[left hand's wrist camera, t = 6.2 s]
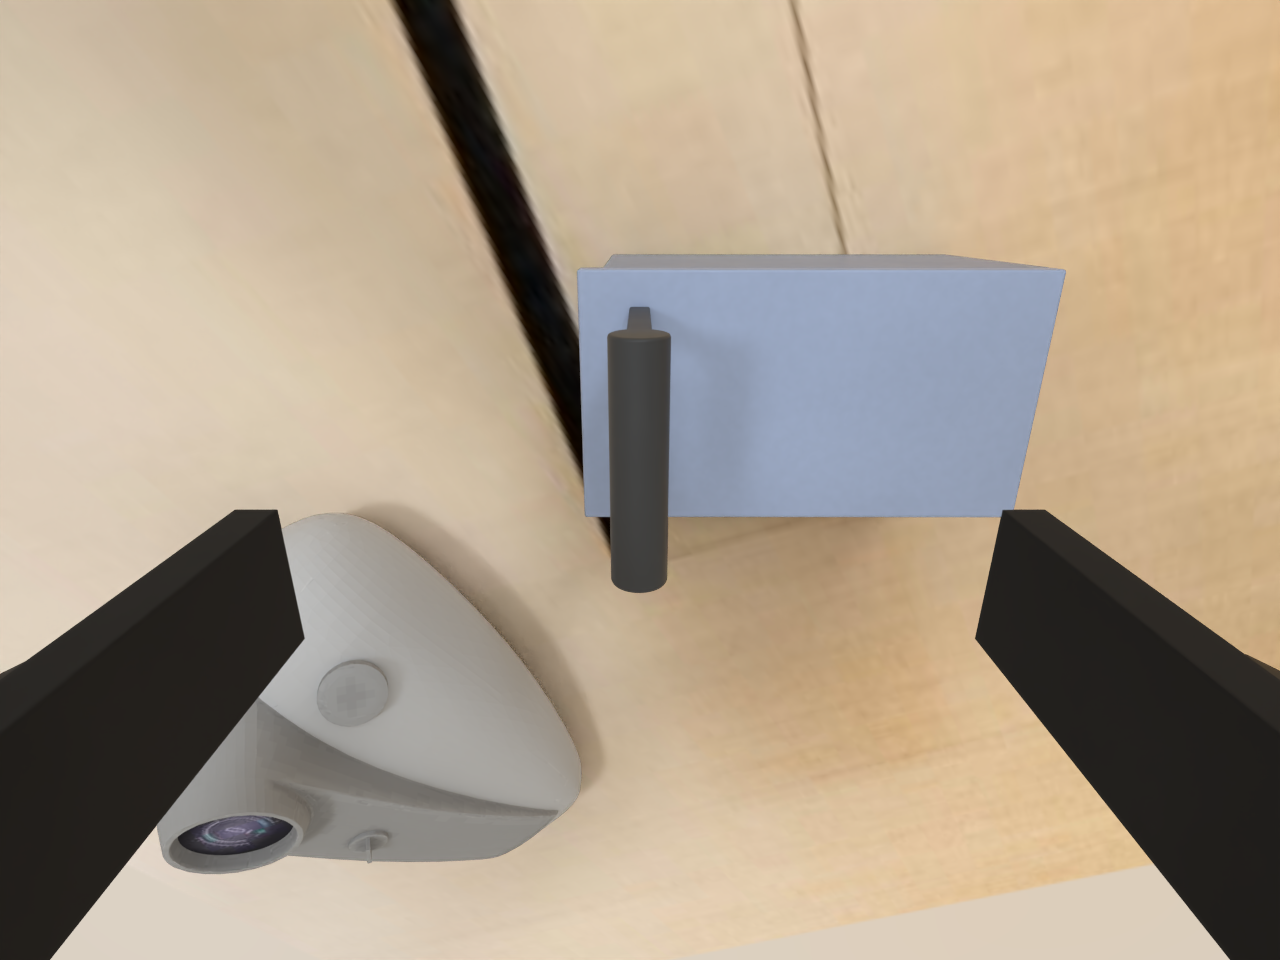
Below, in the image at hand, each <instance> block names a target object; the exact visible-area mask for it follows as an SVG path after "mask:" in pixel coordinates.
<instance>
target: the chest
mask: <svg viewBox="0 0 1280 960" xmlns="http://www.w3.org/2000/svg"><path fill="white" fill-rule="evenodd" d="M603 268H1048V267H1040V266H1032V265H1024V264H1016V263H1008V262H1000V261H992V260H984V259H976V258H968V257H960V256H951V255H612V256H611V258H610V259H609V261H608V262H607V263H606V265H605V266H604V267H603Z"/></svg>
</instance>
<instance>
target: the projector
mask: <svg viewBox="0 0 1280 960" xmlns="http://www.w3.org/2000/svg"><path fill="white" fill-rule="evenodd" d="M282 534H283V538H284V543H285V548H286V552H287V557H288V562H289V567H290V571H291V576H292V581H293V585H294V590H295V595H296V599H297V604H298V609H299V613H300V618H301V623H302V628H303V632H304V637H305V639H304V640H303V642H302V643H301V644H300V645H299V647H298V648H297V649H296V651H295V652H294V653H293V654H292V656H291V657H290V658H289V659H288V661H287V662H286V663H285V664H284V666H283V667H282V668H281V669H280V671H279V672H278V673H277V674H276V676H275V677H274V678H273V679H272V681H271V682H270V683H269V685H268V686H267V687H266V688H265V690H264V691H263V692H262V693H261V695H260V696H259V697H258V698H257V700H256V701H255V702H254V703H253V705H252V706H251V707H250V708H249V710H248V711H247V712H246V713H245V715H244V716H243V717H242V719H241V720H240V721H239V722H238V724H237V725H236V726H235V727H234V729H233V730H232V731H231V732H230V734H229V735H228V736H227V737H226V739H225V740H224V741H223V742H222V744H221V745H220V746H219V747H218V749H217V750H216V751H215V753H214V754H213V755H212V756H211V758H210V759H209V760H208V761H207V763H206V764H205V765H204V766H203V768H202V769H201V770H200V771H199V773H198V774H197V775H196V776H195V778H194V779H193V780H192V781H191V783H190V784H189V785H188V787H187V788H186V789H185V790H184V792H183V793H182V794H181V795H180V797H179V798H178V799H177V800H176V802H175V803H174V804H173V805H172V807H171V808H170V809H169V810H168V812H167V813H166V814H165V815H164V817H163V818H162V819H161V821H160V822H159V823H158V824H157V830H158V835H159V840H160V845H161V850H162V855H163V857H164V859H165V861H166V862H167V863H168V864H170V865H171V866H173V867H175V868H178V869H181V870H184V871H187V872H193V873H201V874H226V873H236V872H241V871H246V870H251V869H256V868H259V867H262V866H265V865H268V864H271V863H273V862H275V861H277V860H280V859H282V858H284V857H286V856H287V855H289V856H302V857H314V858H327V859H343V860H361V861H367V862H368V863H371V862H372V861H391V862H439V861H461V860H479V859H488V858H494V857H498V856H500V855H503V854H505V853H507V852H509V851H511V850H513V849H515V848H516V847H518V846H520V845H522V844H523V843H524V842H526V841H527V840H529V839H530V838H532V837H533V836H534V835H536V834H537V833H538V832H539V831H541V830H542V829H543V828H545V827H546V826H547V825H549V824H550V823H551V822H553V821H554V820H556V819H557V818H558V817H559V816H561V815H562V814H563V813H564V812H565V811H566V810H567V809H568V808H569V807H570V806H571V805H572V804H573V803H574V801H575V800H576V799H577V797H578V794H579V792H580V786H581V776H582V771H581V762H580V758H579V755H578V752H577V749H576V747H575V745H574V742H573V740H572V738H571V736H570V734H569V732H568V731H567V729H566V727H565V725H564V723H563V722H562V720H561V718H560V717H559V715H558V713H557V711H556V710H555V708H554V706H553V705H552V703H551V702H550V700H549V699H548V697H547V696H546V694H545V693H544V691H543V690H542V688H541V687H540V685H539V684H538V682H537V681H536V679H535V678H534V677H533V675H532V674H531V673H530V671H529V670H528V669H527V667H526V666H525V665H524V663H523V662H522V661H521V659H520V658H519V657H518V656H517V654H516V653H515V652H514V651H513V649H512V648H511V647H510V646H509V645H508V643H507V642H506V641H505V640H504V639H503V638H502V637H501V635H500V634H499V633H498V632H497V631H496V630H495V629H494V627H493V626H492V625H491V624H490V623H489V622H488V621H487V620H486V619H485V618H484V617H483V616H482V615H481V613H480V612H479V611H478V610H477V609H476V608H475V607H474V606H473V605H472V604H471V603H470V602H469V601H468V600H467V599H466V598H465V597H464V596H463V595H462V594H461V593H460V592H459V591H458V590H457V589H456V588H455V587H454V586H453V585H452V584H451V583H450V582H449V581H447V580H446V579H445V578H444V577H443V576H442V575H441V574H440V573H439V572H438V571H437V570H435V569H434V568H433V567H432V566H431V565H430V564H429V563H428V562H427V561H425V560H424V559H423V558H422V557H421V556H419V555H418V554H417V553H416V552H415V551H413V550H412V549H411V548H410V547H409V546H407V545H406V544H405V543H403V542H402V541H401V540H399V539H398V538H396V537H395V536H394V535H392V534H391V533H389V532H388V531H386V530H385V529H383V528H381V527H380V526H378V525H376V524H375V523H372V522H370V521H368V520H366V519H363V518H361V517H358V516H355V515H350V514H344V513H326V514H319V515H313V516H310V517H306V518H303V519H301V520H299V521H297V522H294V523H292V524H290V525H288V526H286V527H284V528H283V529H282Z"/></svg>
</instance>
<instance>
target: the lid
mask: <svg viewBox="0 0 1280 960" xmlns="http://www.w3.org/2000/svg"><path fill="white" fill-rule="evenodd" d="M1065 274H1066V271H1065V270H1063V269H1055V268H580V269H578V271H577V286H578V317H579V348H580V379H581V410H582V441H583V472H584V503H585V516H586V517H610V531H611V579H612V582H613V583H614V585H615V586H616V587H618V588H619V589H621V590H624V591H628V592H633V593H645V592H651V591H654V590H657V589H659V588H661V587H662V586H663V585H664V584H665V582H666V580H667V553H668V517H1001V515H1002V510H1014V506H1015V501H1016V497H1017V492H1018V488H1019V483H1020V479H1021V474H1022V469H1023V465H1024V460H1025V456H1026V451H1027V447H1028V442H1029V438H1030V433H1031V429H1032V424H1033V419H1034V415H1035V410H1036V406H1037V401H1038V397H1039V392H1040V388H1041V383H1042V378H1043V374H1044V369H1045V365H1046V360H1047V356H1048V351H1049V347H1050V342H1051V338H1052V333H1053V328H1054V324H1055V319H1056V315H1057V310H1058V306H1059V301H1060V297H1061V292H1062V288H1063V283H1064V278H1065Z"/></svg>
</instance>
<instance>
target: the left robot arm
mask: <svg viewBox="0 0 1280 960" xmlns="http://www.w3.org/2000/svg"><path fill="white" fill-rule="evenodd" d="M304 639H305V637H304V632H303V628H302V623H301V618H300V613H299V609H298V604H297V599H296V595H295V590H294V585H293V581H292V576H291V571H290V567H289V562H288V557H287V552H286V548H285V543H284V538H283V534H282V529H281V524H280V520H279V515H278V510H234V511H233V512H231V513H230V514H229V515H227V516H226V517H224V518H223V519H222V520H220V521H219V522H218V523H216V524H215V525H213V526H212V527H211V528H209V529H208V530H206V531H205V532H204V533H202V534H201V535H200V536H198V537H197V538H195V539H194V540H193V541H191V542H190V543H189V544H187V545H186V546H184V547H183V548H182V549H180V550H179V551H177V552H176V553H175V554H173V555H172V556H171V557H169V558H168V559H166V560H165V561H164V562H162V563H161V564H159V565H158V566H157V567H155V568H154V569H153V570H151V571H150V572H148V573H147V574H146V575H144V576H143V577H142V578H140V579H139V580H137V581H136V582H135V583H133V584H132V585H130V586H129V587H128V588H126V589H125V590H124V591H122V592H121V593H119V594H118V595H117V596H115V597H114V598H113V599H111V600H110V601H108V602H107V603H106V604H104V605H103V606H101V607H100V608H99V609H97V610H96V611H95V612H93V613H92V614H90V615H89V616H88V617H86V618H85V619H84V620H82V621H81V622H79V623H78V624H77V625H75V626H74V627H72V628H71V629H70V630H68V631H67V632H66V633H64V634H63V635H61V636H60V637H59V638H57V639H56V640H55V641H53V642H52V643H50V644H49V645H48V646H46V647H45V648H43V649H42V650H41V651H39V652H38V653H37V654H35V655H34V656H32V657H31V658H30V659H28V660H27V661H25V662H23V663H21V664H19V665H17V666H15V667H13V668H11V669H9V670H7V671H5V672H3V673H1V674H0V960H50V959H51V958H52V956H53V955H54V954H55V953H56V951H57V950H58V949H59V948H60V946H61V945H62V944H63V943H64V941H65V940H66V939H67V938H68V936H69V935H70V934H71V933H72V931H73V930H74V929H75V927H76V926H77V925H78V924H79V922H80V921H81V920H82V919H83V917H84V916H85V915H86V914H87V912H88V911H89V910H90V909H91V907H92V906H93V905H94V904H95V902H96V901H97V900H98V899H99V897H100V896H101V895H102V894H103V892H104V891H105V890H106V889H107V887H108V886H109V885H110V883H111V882H112V881H113V880H114V878H115V877H116V876H117V875H118V873H119V872H120V871H121V870H122V868H123V867H124V866H125V865H126V863H127V862H128V861H129V860H130V858H131V857H132V856H133V855H134V853H135V852H136V851H137V849H138V848H139V847H140V846H141V844H142V843H143V842H144V841H145V839H146V838H147V837H148V836H149V834H150V833H151V832H152V831H153V829H154V828H155V827H156V826H157V824H158V823H159V822H160V821H161V819H162V818H163V817H164V815H165V814H166V813H167V812H168V810H169V809H170V808H171V807H172V805H173V804H174V803H175V802H176V800H177V799H178V798H179V797H180V795H181V794H182V793H183V792H184V790H185V789H186V788H187V787H188V785H189V784H190V783H191V781H192V780H193V779H194V778H195V776H196V775H197V774H198V773H199V771H200V770H201V769H202V768H203V766H204V765H205V764H206V763H207V761H208V760H209V759H210V758H211V756H212V755H213V754H214V753H215V751H216V750H217V749H218V747H219V746H220V745H221V744H222V742H223V741H224V740H225V739H226V737H227V736H228V735H229V734H230V732H231V731H232V730H233V729H234V727H235V726H236V725H237V724H238V722H239V721H240V720H241V719H242V717H243V716H244V715H245V713H246V712H247V711H248V710H249V708H250V707H251V706H252V705H253V703H254V702H255V701H256V700H257V698H258V697H259V696H260V695H261V693H262V692H263V691H264V690H265V688H266V687H267V686H268V685H269V683H270V682H271V681H272V679H273V678H274V677H275V676H276V674H277V673H278V672H279V671H280V669H281V668H282V667H283V666H284V664H285V663H286V662H287V661H288V659H289V658H290V657H291V656H292V654H293V653H294V652H295V651H296V649H297V648H298V647H299V645H300V644H301V643H302V642H303V640H304ZM975 639H976V640H977V642H978V643H979V644H980V645H981V647H982V648H983V649H984V651H985V652H986V653H987V654H988V656H989V657H990V658H991V659H992V661H993V662H994V663H995V664H996V666H997V667H998V668H999V669H1000V671H1001V672H1002V673H1003V674H1004V676H1005V677H1006V678H1007V679H1008V681H1009V682H1010V683H1011V685H1012V686H1013V687H1014V688H1015V690H1016V691H1017V692H1018V693H1019V695H1020V696H1021V697H1022V698H1023V700H1024V701H1025V702H1026V703H1027V705H1028V706H1029V707H1030V708H1031V710H1032V711H1033V712H1034V713H1035V715H1036V716H1037V717H1038V719H1039V720H1040V721H1041V722H1042V724H1043V725H1044V726H1045V727H1046V729H1047V730H1048V731H1049V732H1050V734H1051V735H1052V736H1053V737H1054V739H1055V740H1056V741H1057V742H1058V744H1059V745H1060V746H1061V747H1062V749H1063V750H1064V751H1065V753H1066V754H1067V755H1068V756H1069V758H1070V759H1071V760H1072V761H1073V763H1074V764H1075V765H1076V766H1077V768H1078V769H1079V770H1080V771H1081V773H1082V774H1083V775H1084V776H1085V778H1086V779H1087V780H1088V781H1089V783H1090V784H1091V785H1092V787H1093V788H1094V789H1095V790H1096V792H1097V793H1098V794H1099V795H1100V797H1101V798H1102V799H1103V800H1104V802H1105V803H1106V804H1107V805H1108V807H1109V808H1110V809H1111V810H1112V812H1113V813H1114V814H1115V815H1116V817H1117V818H1118V819H1119V821H1120V822H1121V823H1122V824H1123V826H1124V827H1125V828H1126V829H1127V831H1128V832H1129V833H1130V834H1131V836H1132V837H1133V838H1134V839H1135V841H1136V842H1137V843H1138V844H1139V846H1140V847H1141V848H1142V849H1143V851H1144V852H1145V853H1146V855H1147V856H1148V857H1149V858H1150V860H1151V861H1152V862H1153V863H1154V865H1155V866H1156V867H1157V868H1158V870H1159V871H1160V872H1161V873H1162V875H1163V876H1164V877H1165V878H1166V880H1167V881H1168V882H1169V883H1170V885H1171V886H1172V887H1173V889H1174V890H1175V891H1176V892H1177V894H1178V895H1179V896H1180V897H1181V899H1182V900H1183V901H1184V902H1185V904H1186V905H1187V906H1188V907H1189V909H1190V910H1191V911H1192V912H1193V914H1194V915H1195V916H1196V917H1197V919H1198V920H1199V921H1200V923H1201V924H1202V925H1203V926H1204V927H1205V929H1206V930H1207V931H1208V933H1209V934H1210V935H1211V936H1212V938H1213V939H1214V940H1215V941H1216V943H1217V944H1218V945H1219V946H1220V948H1221V949H1222V950H1223V951H1224V953H1225V954H1226V955H1227V956H1228V958H1229V959H1230V960H1280V671H1279V670H1277V669H1275V668H1273V667H1271V666H1269V665H1267V664H1265V663H1263V662H1261V661H1259V660H1257V659H1255V658H1253V657H1251V656H1249V655H1245V654H1243V653H1242V652H1241V651H1239V650H1238V649H1237V648H1235V647H1234V646H1232V645H1231V644H1230V643H1228V642H1227V641H1225V640H1224V639H1223V638H1221V637H1220V636H1219V635H1217V634H1216V633H1214V632H1213V631H1212V630H1210V629H1209V628H1208V627H1206V626H1205V625H1203V624H1202V623H1201V622H1199V621H1198V620H1196V619H1195V618H1194V617H1192V616H1191V615H1190V614H1188V613H1187V612H1185V611H1184V610H1183V609H1181V608H1180V607H1179V606H1177V605H1176V604H1174V603H1173V602H1172V601H1170V600H1169V599H1167V598H1166V597H1165V596H1163V595H1162V594H1161V593H1159V592H1158V591H1156V590H1155V589H1154V588H1152V587H1151V586H1150V585H1148V584H1147V583H1145V582H1144V581H1143V580H1141V579H1140V578H1138V577H1137V576H1136V575H1134V574H1133V573H1132V572H1130V571H1129V570H1127V569H1126V568H1125V567H1123V566H1122V565H1121V564H1119V563H1118V562H1116V561H1115V560H1114V559H1112V558H1111V557H1109V556H1108V555H1107V554H1105V553H1104V552H1103V551H1101V550H1100V549H1098V548H1097V547H1096V546H1094V545H1093V544H1091V543H1090V542H1089V541H1087V540H1086V539H1085V538H1083V537H1082V536H1080V535H1079V534H1078V533H1076V532H1075V531H1074V530H1072V529H1071V528H1069V527H1068V526H1067V525H1065V524H1064V523H1062V522H1061V521H1060V520H1058V519H1057V518H1056V517H1054V516H1053V515H1051V514H1050V513H1049V512H1047V511H1046V510H1002V515H1001V520H1000V524H999V529H998V534H997V538H996V543H995V548H994V552H993V557H992V562H991V567H990V571H989V576H988V581H987V585H986V590H985V595H984V599H983V604H982V609H981V613H980V618H979V623H978V628H977V632H976V637H975Z"/></svg>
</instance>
